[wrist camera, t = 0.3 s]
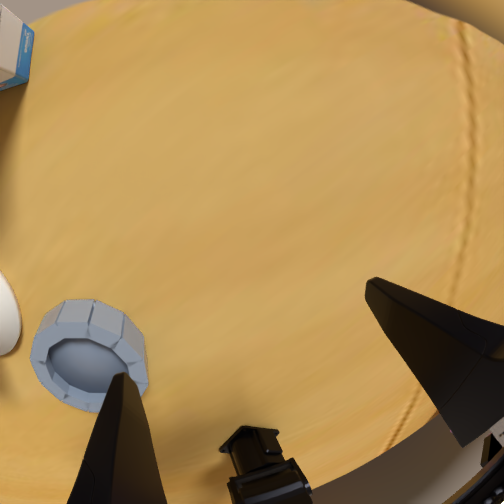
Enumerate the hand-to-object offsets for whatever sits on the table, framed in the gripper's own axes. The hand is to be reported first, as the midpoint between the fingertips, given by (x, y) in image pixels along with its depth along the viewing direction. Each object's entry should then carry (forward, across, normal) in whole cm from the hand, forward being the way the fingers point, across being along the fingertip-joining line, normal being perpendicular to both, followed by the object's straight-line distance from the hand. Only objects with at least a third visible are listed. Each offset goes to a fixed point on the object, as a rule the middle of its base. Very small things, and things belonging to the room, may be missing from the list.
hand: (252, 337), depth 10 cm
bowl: (+13, +14, +11) cm, 22 cm away
